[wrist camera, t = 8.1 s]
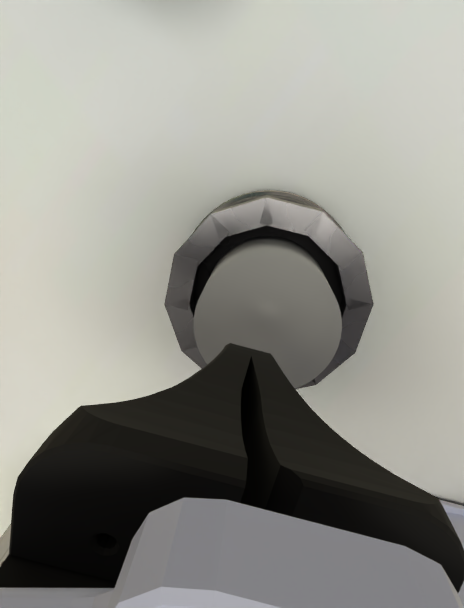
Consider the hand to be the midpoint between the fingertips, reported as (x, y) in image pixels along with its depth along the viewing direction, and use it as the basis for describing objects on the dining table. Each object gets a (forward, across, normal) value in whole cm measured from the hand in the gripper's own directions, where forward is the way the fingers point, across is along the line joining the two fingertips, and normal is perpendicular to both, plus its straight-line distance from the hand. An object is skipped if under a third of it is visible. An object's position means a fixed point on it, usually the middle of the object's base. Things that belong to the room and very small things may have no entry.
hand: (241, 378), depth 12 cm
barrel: (+10, -1, -1) cm, 10 cm away
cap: (+6, 0, -1) cm, 6 cm away
